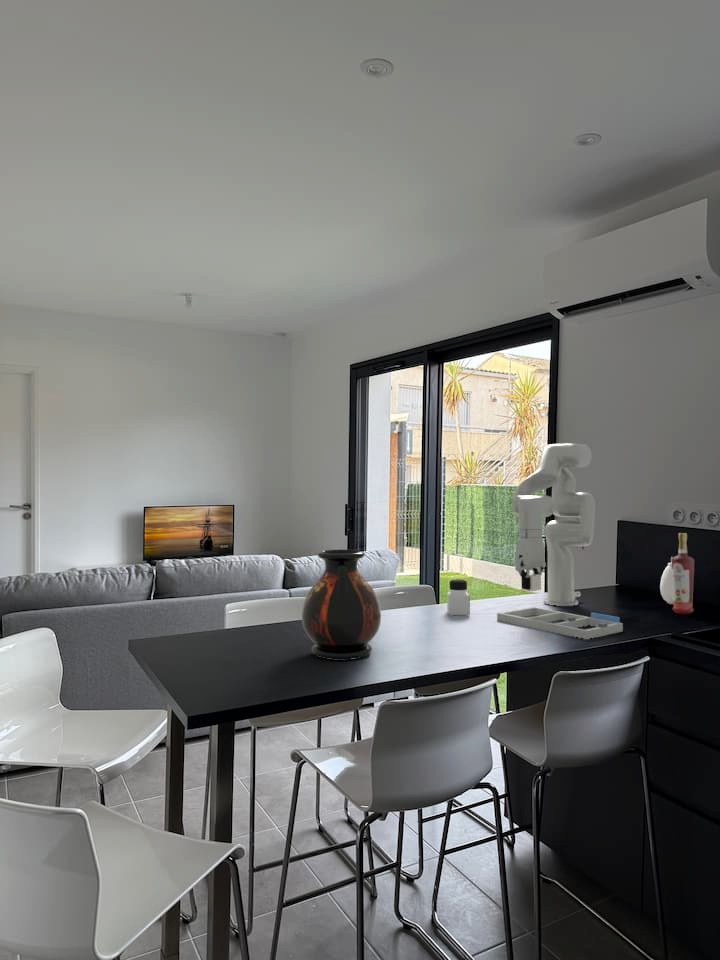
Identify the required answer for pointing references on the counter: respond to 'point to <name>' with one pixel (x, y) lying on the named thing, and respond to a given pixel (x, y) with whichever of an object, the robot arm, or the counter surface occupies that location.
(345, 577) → the black and orange vase
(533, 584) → the cream matte cube
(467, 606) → the medicine bottle
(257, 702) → the counter surface
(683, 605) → the liquor
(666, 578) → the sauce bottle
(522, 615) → the compartment tray
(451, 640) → the counter surface
